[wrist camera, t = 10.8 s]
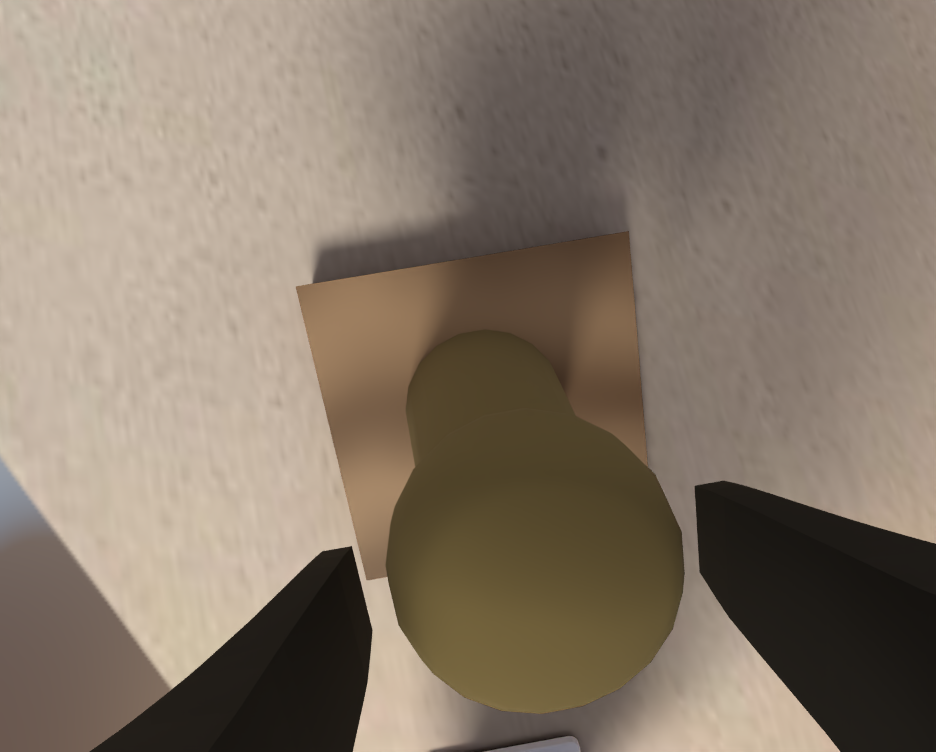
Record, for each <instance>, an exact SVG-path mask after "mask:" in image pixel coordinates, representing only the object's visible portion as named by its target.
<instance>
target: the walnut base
mask: <svg viewBox="0 0 936 752" xmlns="http://www.w3.org/2000/svg"><path fill="white" fill-rule="evenodd" d="M296 290H297V294H298V298H299V302H300V306H301V310H302V315H303V319H304V323H305V327H306V331H307V335H308V339H309V344H310V348H311V352H312V356H313V360H314V364H315V368H316V373H317V377H318V381H319V385H320V389H321V393H322V397H323V401H324V406H325V410H326V414H327V418H328V422H329V426H330V430H331V435H332V439H333V443H334V447H335V451H336V455H337V459H338V464H339V468H340V472H341V476H342V480H343V484H344V488H345V492H346V497H347V501H348V505H349V509H350V513H351V517H352V521H353V526H354V530H355V534H356V538H357V542H358V546H359V550H360V555H361V559H362V563H363V567H364V571H365V575H366V579H367V580H372V579H378V578H383V577H388V576H387V571H386V566H385V564H386V556H387V548H388V540H389V531H390V523H391V519H392V515H393V511H394V507H395V505H396V503H397V501H398V499H399V497H400V495H401V493H402V491H403V489H404V487H405V485H406V483H407V481H408V479H409V477H410V475H411V473H412V471H413V469H414V468H415V463H414V457H413V451H412V446H411V440H410V434H409V428H408V422H407V416H406V411H405V410H406V402H407V394H408V386H409V384H410V382H411V380H412V378H413V376H414V374H415V372H416V370H417V367H418V365H419V364H420V363H421V362H422V361H423V359H424V358H425V357H426V356H427V355H428V354H429V353H430V352H431V351H432V350H433V349H434V348H435V347H436V346H437V345H439V344H441V343H443V342H445V341H447V340H449V339H450V338H452V337H454V336H456V335H458V334H461V333H467V332H472V331H478V330H484V329H486V330H493V331H500V332H507V333H511V334H513V335H515V336H517V337H519V338H521V339H523V340H525V341H527V342H529V343H531V344H533V345H534V346H535V347H536V348H537V349H538V350H539V351H540V352H541V353H542V354H543V355H544V356H545V357H546V358H547V359H548V360H549V361H550V363H551V365H552V367H553V369H554V371H555V373H556V375H557V377H558V379H559V381H560V383H561V386H562V388H563V390H564V392H565V394H566V396H567V398H568V400H569V402H570V404H571V406H572V409H573V411H574V413H575V415H576V416H577V417H579V418H581V419H583V420H585V421H587V422H589V423H591V424H593V425H596V426H598V427H600V428H602V429H604V430H606V431H608V432H610V433H612V434H613V435H614V436H616V437H617V438H618V439H619V440H620V441H621V442H623V443H624V444H625V445H626V446H627V447H628V448H629V449H630V450H631V451H632V452H633V453H634V454H635V455H636V456H637V457H638V458H639V459H640V460H641V461H642V462H643V463H644V464H645V465H646V466H647V467H648V464H647V451H646V439H645V427H644V414H643V402H642V390H641V377H640V365H639V353H638V340H637V328H636V316H635V303H634V291H633V279H632V266H631V254H630V242H629V231H627V232H621V233H615V234H609V235H603V236H597V237H591V238H585V239H579V240H573V241H567V242H561V243H555V244H549V245H543V246H537V247H531V248H525V249H519V250H513V251H507V252H501V253H495V254H489V255H483V256H477V257H471V258H465V259H459V260H453V261H447V262H441V263H435V264H429V265H423V266H417V267H411V268H405V269H399V270H393V271H387V272H381V273H375V274H369V275H363V276H357V277H351V278H345V279H339V280H333V281H327V282H320V283H314V284H308V285H302V286H296Z"/></svg>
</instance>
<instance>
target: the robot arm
mask: <svg viewBox="0 0 936 752" xmlns="http://www.w3.org/2000/svg"><path fill="white" fill-rule="evenodd" d="M695 499H696V517H697V534H698V551H699V568H700V573H701V575H702V576H703V578H704V580H705V581H706V583H707V584H708V586H709V588H710V589H711V591H712V592H713V594H714V595H715V597H716V599H717V600H718V601H719V603H720V604H721V606H722V607H723V609H724V610H725V612H726V613H727V615H728V616H729V618H730V619H731V620H732V621H733V623H734V624H735V625H736V626H737V628H738V629H739V630H740V631H741V632H742V634H743V635H744V636H745V637H746V639H747V640H748V641H749V642H750V643H751V645H752V646H753V647H754V648H755V649H756V651H757V652H758V653H759V654H760V655H761V657H762V658H763V659H764V660H765V661H766V663H767V664H768V665H769V666H770V667H771V668H772V670H773V671H774V672H775V673H776V674H777V676H778V677H779V678H780V679H781V680H782V681H783V683H784V684H785V685H786V686H787V687H788V689H789V690H790V691H791V692H792V693H793V695H794V696H795V697H796V698H797V699H798V700H799V702H800V703H801V704H802V705H803V706H804V708H805V709H806V710H807V711H808V712H809V714H810V715H811V716H812V717H813V718H814V719H815V721H816V722H817V723H818V724H819V725H820V727H821V728H822V729H823V730H824V731H825V732H826V734H827V735H828V736H829V738H830V739H831V740H832V741H833V743H834V744H835V745H836V746H837V748H838V749H839V750H840V752H936V544H934V543H930V542H927V541H923V540H919V539H916V538H912V537H909V536H905V535H902V534H898V533H895V532H891V531H888V530H884V529H881V528H877V527H874V526H870V525H867V524H864V523H860V522H857V521H854V520H851V519H847V518H844V517H841V516H838V515H835V514H831V513H828V512H825V511H822V510H819V509H816V508H813V507H810V506H807V505H804V504H800V503H797V502H794V501H791V500H788V499H785V498H782V497H779V496H776V495H773V494H770V493H766V492H763V491H760V490H757V489H753V488H750V487H747V486H743V485H739V484H736V483H731V482H727V481H720V482H714V483H708V484H703V485H697V486H695ZM371 641H372V627H371V623H370V619H369V615H368V610H367V606H366V602H365V598H364V594H363V590H362V586H361V582H360V578H359V574H358V570H357V566H356V562H355V557H354V553H353V549H352V546H351V547H345V548H339V549H334V550H328V551H322V552H321V553H320V554H319V555H318V556H316V557H315V558H314V559H313V560H312V561H311V562H310V563H309V564H308V565H307V566H306V567H305V568H304V569H303V570H302V571H301V572H300V573H298V574H297V575H296V576H295V577H294V578H293V579H292V580H291V581H290V582H289V583H288V584H287V585H286V586H285V587H284V588H283V589H282V590H281V591H280V592H279V593H278V594H277V595H276V596H275V597H274V598H273V599H272V600H271V601H270V602H269V603H268V604H267V605H266V606H265V607H264V608H263V609H262V610H261V611H260V612H259V613H258V614H257V615H256V616H255V617H254V618H252V619H251V620H250V621H249V622H248V623H247V624H246V625H245V626H244V627H243V628H242V629H240V630H239V631H238V632H237V633H236V634H235V635H234V636H233V637H232V638H231V639H229V640H228V641H227V642H226V643H225V644H224V645H223V646H222V647H221V648H219V649H218V650H217V651H216V652H215V653H214V654H213V655H212V656H211V657H210V658H208V659H207V660H206V661H205V662H204V663H203V664H202V665H201V666H200V667H198V668H197V669H196V670H195V671H194V672H192V673H191V674H190V675H189V676H188V677H187V678H185V679H184V680H183V681H182V682H181V683H179V684H178V685H177V686H176V687H174V688H173V689H172V690H171V691H170V692H168V693H167V694H166V695H165V696H164V697H162V698H161V699H159V700H158V701H157V702H156V703H155V704H153V705H152V706H151V707H149V708H148V709H147V710H145V711H144V712H143V713H142V714H141V715H139V716H138V717H137V718H135V719H134V720H133V721H132V722H130V723H129V724H127V725H126V726H125V727H123V728H122V729H121V730H119V731H118V732H117V733H115V734H114V735H112V736H111V737H110V738H108V739H107V740H105V741H104V742H103V743H102V744H100V745H98V746H97V747H96V748H94V749H93V750H91V751H90V752H353V747H354V743H355V738H356V734H357V729H358V725H359V720H360V715H361V711H362V706H363V701H364V697H365V692H366V687H367V681H368V672H369V663H370V653H371ZM484 752H581V751H580V746H579V742H578V740H577V739H576V738H575V737H572V736H565V737H560V738H554V739H549V740H544V741H538V742H533V743H527V744H522V745H516V746H511V747H506V748H500V749H495V750H489V751H484Z"/></svg>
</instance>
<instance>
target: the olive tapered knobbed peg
mask: <svg viewBox="0 0 936 752" xmlns="http://www.w3.org/2000/svg"><path fill="white" fill-rule="evenodd" d="M405 411H406V416H407V422H408V428H409V434H410V440H411V446H412V451H413V457H414V463H415V468H414V469H413V471H412V473H411V475H410V477H409V479H408V481H407V483H406V485H405V487H404V489H403V491H402V493H401V495H400V497H399V499H398V501H397V503H396V505H395V507H394V511H393V515H392V519H391V523H390V531H389V540H388V548H387V556H386V564H385V566H386V571H387V576H388V582H389V587H390V591H391V595H392V599H393V603H394V608H395V612H396V616H397V620H398V624H399V627H400V628H401V630H402V631H403V633H404V634H405V636H406V637H407V639H408V640H409V642H410V643H411V645H412V646H413V648H414V649H415V651H416V652H417V654H418V655H419V657H420V658H421V660H422V661H423V662H424V663H425V664H426V665H427V667H428V668H429V669H430V670H431V671H432V673H433V674H434V675H436V676H437V677H438V678H440V679H441V680H442V681H444V682H445V683H446V684H447V685H449V686H450V687H451V688H453V689H454V690H455V691H457V692H458V693H459V694H461V695H462V696H463V697H465V698H468V699H470V700H473V701H476V702H479V703H481V704H484V705H487V706H490V707H492V708H495V709H498V710H501V711H511V712H524V713H538V714H544V713H549V712H554V711H559V710H565V709H570V708H575V707H581V706H584V705H586V704H588V703H590V702H592V701H595V700H597V699H599V698H601V697H603V696H605V695H607V694H609V693H611V692H614V691H616V690H618V689H620V688H621V687H622V686H623V685H625V684H626V683H627V682H628V681H629V680H630V679H632V678H633V677H634V676H635V675H636V674H638V673H639V672H640V671H641V670H642V669H643V668H645V667H646V666H647V665H648V664H649V663H650V662H651V661H652V660H653V658H654V657H655V655H656V653H657V652H658V650H659V649H660V647H661V646H662V644H663V643H664V641H665V640H666V638H667V637H668V635H669V634H670V632H671V631H672V629H673V626H674V622H675V618H676V615H677V611H678V607H679V604H680V600H681V597H682V593H683V583H684V559H683V545H682V532H681V530H680V527H679V525H678V523H677V521H676V519H675V516H674V514H673V512H672V510H671V508H670V505H669V503H668V501H667V499H666V497H665V495H664V492H663V490H662V488H661V486H660V484H659V482H658V479H657V477H656V475H655V474H654V473H653V472H652V471H651V470H650V469H649V468H648V467H647V466H646V465H645V464H644V463H643V462H642V461H641V460H640V459H639V458H638V457H637V456H636V455H635V454H634V453H633V452H632V451H631V450H630V449H629V448H628V447H627V446H626V445H625V444H624V443H623V442H621V441H620V440H619V439H618V438H617V437H616V436H614V435H613V434H612V433H610V432H608V431H606V430H604V429H602V428H600V427H598V426H596V425H593V424H591V423H589V422H587V421H585V420H583V419H581V418H579V417H577V416H576V415H575V413H574V411H573V409H572V406H571V404H570V402H569V400H568V398H567V396H566V394H565V392H564V390H563V388H562V386H561V383H560V381H559V379H558V377H557V375H556V373H555V371H554V369H553V367H552V365H551V363H550V361H549V360H548V359H547V358H546V357H545V356H544V355H543V354H542V353H541V352H540V351H539V350H538V349H537V348H536V347H535V346H534V345H533V344H531V343H529V342H527V341H525V340H523V339H521V338H519V337H517V336H515V335H513V334H511V333H507V332H500V331H493V330H486V329H484V330H478V331H472V332H467V333H461V334H458V335H456V336H454V337H452V338H450V339H449V340H447V341H445V342H443V343H441V344H439V345H437V346H436V347H435V348H434V349H433V350H432V351H431V352H430V353H429V354H428V355H427V356H426V357H425V358H424V359H423V361H422V362H421V363H420V364H419V365H418V367H417V370H416V372H415V374H414V376H413V378H412V380H411V382H410V384H409V386H408V394H407V402H406V410H405Z"/></svg>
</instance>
